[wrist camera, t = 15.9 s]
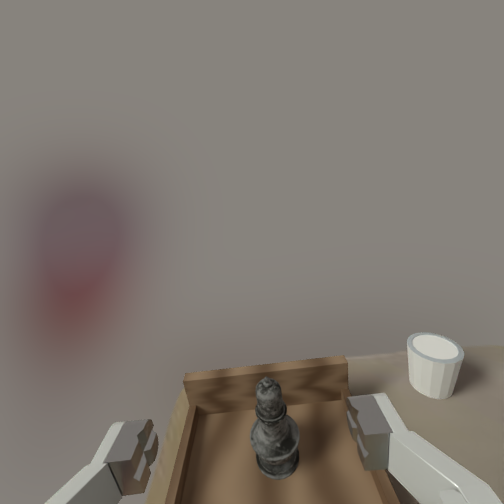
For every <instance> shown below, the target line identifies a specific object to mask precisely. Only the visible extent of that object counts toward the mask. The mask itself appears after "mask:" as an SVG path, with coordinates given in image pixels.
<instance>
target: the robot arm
mask: <svg viewBox="0 0 504 504" xmlns="http://www.w3.org/2000/svg"><path fill="white" fill-rule="evenodd" d="M346 405H347V407H348V411H347V422H348V427H349V430H350V434H351V436H352V439H353V440H354V441H355V442H356V443H357V452H358V455H359V457H360V460H361V463H362V465H363V468H364V470H365V471H370V470H385V469H388V471H389V472H390V473H391V474H392V475H393V476H394V477H395V478H396V479H397V480H398V481H399V482H400V483H401V484H402V485H403V486H404V487H405V488H406V489H407V490H408V491H409V492H410V493H411V495H412V496H413V497H414V498H415V499H416V500H417V501H418V502H419V503H420V504H502V502H501V501H500V500H499V498H498V497H497V496H496V494H495V493H494V492H493V490H492V489H491V488H490V486H489V485H488V484H486V483H485V482H484V481H482V480H481V479H479V478H478V477H477V476H475V475H474V474H472V473H471V472H470V471H468V470H467V469H465V468H464V467H463V466H461V465H460V464H458V463H457V462H456V461H454V460H453V459H451V458H450V457H449V456H447V455H446V454H444V453H443V452H442V451H440V450H439V449H437V448H436V447H435V446H433V445H432V444H430V443H429V442H428V441H426V440H425V439H423V438H422V437H420V436H419V435H418V434H416V433H415V432H413V431H408V429H407V427H406V426H405V424H404V423H403V421H402V419H401V418H400V416H399V414H398V413H397V411H396V409H395V408H394V406H393V405H392V403H391V401H390V400H389V398H388V396H387V395H386V394H385V393H378V394H368V395H360V396H352V397H347V398H346ZM153 426H154V425H153V422H152V420H149V419H148V420H137V421H125V422H115V423H114V424H113V425H112V426H111V427H110V429H109V431H108V432H107V434H106V436H105V438H104V440H103V441H102V443H101V445H100V447H99V449H98V451H97V453H96V454H95V456H94V458H93V460H92V462H91V463H90V465H86V466H85V467H84V468H83V469H82V470H81V471H79V472H78V473H77V474H76V475H75V476H74V477H73V478H72V479H71V480H70V481H69V482H67V483H66V484H65V485H64V486H63V487H62V488H61V489H60V490H59V491H58V492H57V493H55V494H54V495H53V496H52V497H51V498H50V499H49V500H48V501H47V502H46V503H45V504H118V502H119V501H120V500H121V499H122V496H126V495H133V494H141V493H144V492H145V489H146V486H147V483H148V480H149V477H150V474H151V472H150V469H149V466H150V465H151V464H152V463H153V462H154V461H155V458H156V455H157V451H158V437H157V434H156V432H154V431H153V430H152V428H153Z"/></svg>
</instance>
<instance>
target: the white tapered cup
mask: <svg viewBox="0 0 504 504" xmlns="http://www.w3.org/2000/svg"><path fill="white" fill-rule="evenodd" d="M407 349H408V366H409V379H410V383H411V384H412V386H413V387H414V388H415V389H416V390H417V391H419V392H420V393H421V394H423V395H426V396H428V397H431V398H435V399H447V398H448V397H450V396H452V393H453V391H454V387H455V384H456V381H457V377H458V374H459V371H460V367H461V364H462V361H463V357H464V352H463V349H462V347H460V346H459V345H458V344H457V343H456V342H455V341H453V340H451V339H449V338H447V337H445V336H442V335H438V334H435V333H427V332H422V333H415V334H413V335H411V336H409V338H408V339H407Z"/></svg>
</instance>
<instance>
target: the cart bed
mask: <svg viewBox="0 0 504 504" xmlns="http://www.w3.org/2000/svg"><path fill="white" fill-rule="evenodd" d="M266 376H267V377H269V378H272V379H274V380H276V381H277V382H278V383H279V384H280V387H281V391H282V399H283V401H284V402H285V404H286V406H287V413H286V414H287V415H289V416H290V417H291V418H292V419H293V420H294V421H295V422H296V424H297V426H298V429H299V432H300V440H299V444H298V450H299V463H298V466H297V468H296V470H295V471H294V473H293V474H292V475H291V476H289V477H287V478H285V479H281V480H275V479H271V478H269V477H267V476H265V475H264V474H263V473H262V472H261V470H260V469H259V467H258V465H257V461H256V452H255V451H254V450H253V448H252V445H251V443H250V431H251V428H252V425H253V423H254V422H255V421H256V419H257V416H256V413H255V407H256V405H257V398H256V392H255V390H256V385H257V384H258V383H259V382H260V381H261V380H262V379H264V378H265V377H266ZM183 383H184V387H185V391H186V394H187V398H188V402H189V410H188V414H187V418H186V422H185V426H184V430H183V434H182V438H181V442H180V446H179V450H178V454H177V458H176V462H175V466H174V469H173V473H172V477H171V481H170V485H169V489H168V493H167V497H166V501H165V504H400V502H399V500H398V498H397V495H396V493H395V491H394V489H393V487H392V484H391V482H390V480H389V478H388V476H387V473H386V471H385V470H370V471H365V470H364V468H363V465H362V463H361V460H360V457H359V455H358V452H357V443H356V442H355V441H354V440H353V439H352V436H351V434H350V430H349V427H348V422H347V411H348V407H347V405H346V398H347V397H352V396H351V393H350V391H349V389H348V362H347V360H346V358H345V356H344V355H342V356H334V357H325V358H316V359H307V360H299V361H290V362H281V363H272V364H263V365H255V366H246V367H237V368H229V369H220V370H211V371H202V372H193V373H186V374H185V377H184V380H183Z"/></svg>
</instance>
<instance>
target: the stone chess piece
mask: <svg viewBox="0 0 504 504" xmlns="http://www.w3.org/2000/svg"><path fill="white" fill-rule="evenodd" d="M255 392H256V398H257V405H256V407H255V413H256V416H257V419H256V421H255V422H254V423H253V425H252V428H251V431H250V443H251V445H252V448H253V450H254V451H255V452H256V461H257V465H258V467H259V469H260V470H261V472H262V473H263V474H264V475H265V476H267V477H269V478H271V479H275V480H281V479H285V478H287V477H289V476H291V475H292V474H293V473H294V471H295V470H296V468H297V466H298V463H299V450H298V444H299V440H300V432H299V429H298V426H297V424H296V422H295V421H294V420H293V419H292V418H291V417H290V416H289V415H287V414H286V413H287V406H286V404H285V402H284V401H283V399H282V391H281V387H280V384H279V383H278V382H277V381H276V380H274V379H272V378H269V377H267V376H266V377H265V378H264V379H262V380H261V381H260V382H259V383H258V384H257V385H256V390H255Z"/></svg>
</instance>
